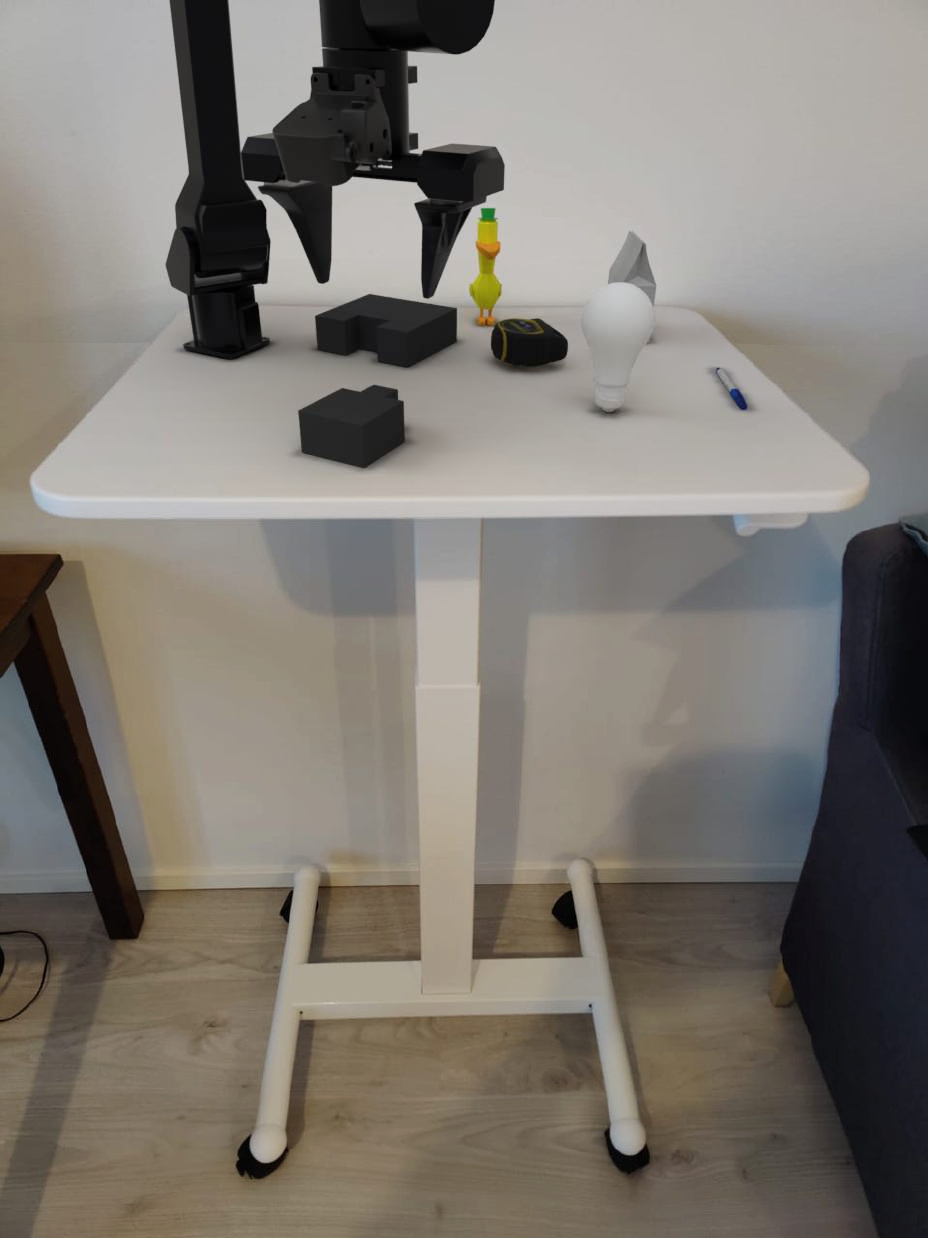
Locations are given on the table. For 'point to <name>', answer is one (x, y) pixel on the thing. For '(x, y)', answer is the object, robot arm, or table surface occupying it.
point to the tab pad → (353, 425)
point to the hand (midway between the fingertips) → (374, 289)
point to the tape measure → (527, 342)
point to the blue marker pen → (732, 389)
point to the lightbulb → (616, 337)
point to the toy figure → (486, 266)
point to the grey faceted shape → (634, 267)
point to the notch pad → (387, 329)
